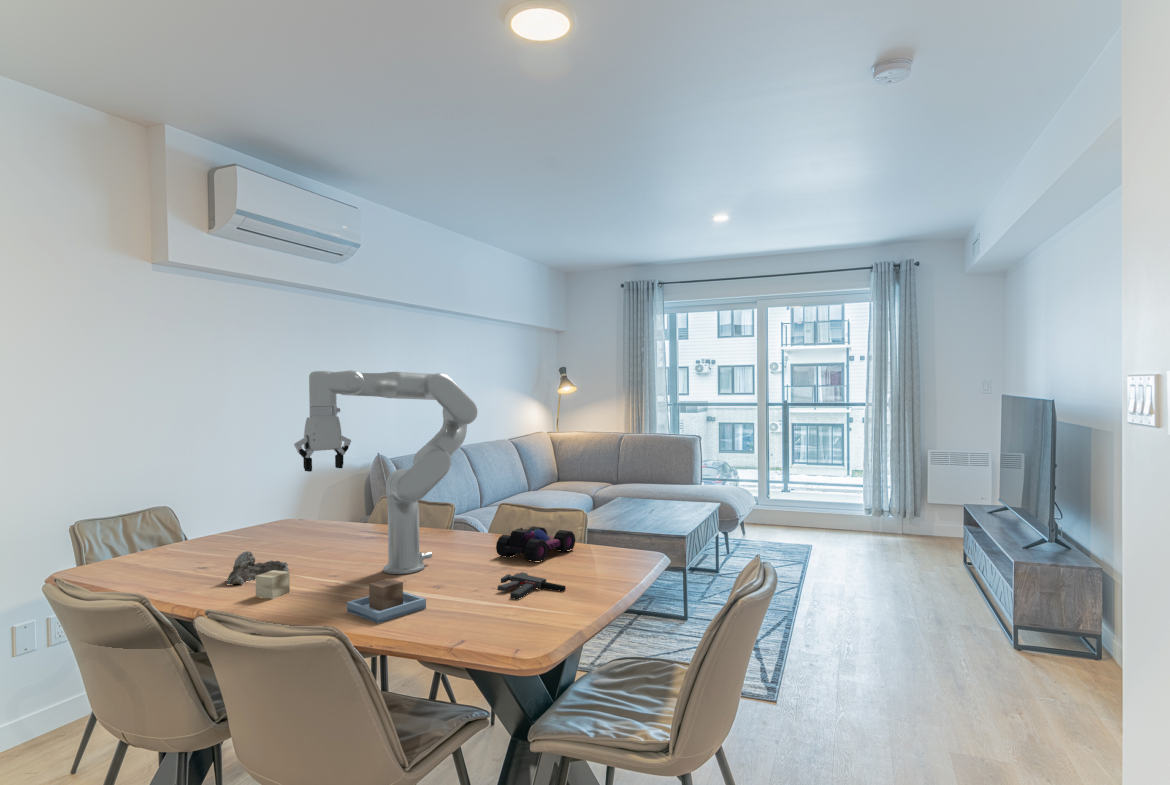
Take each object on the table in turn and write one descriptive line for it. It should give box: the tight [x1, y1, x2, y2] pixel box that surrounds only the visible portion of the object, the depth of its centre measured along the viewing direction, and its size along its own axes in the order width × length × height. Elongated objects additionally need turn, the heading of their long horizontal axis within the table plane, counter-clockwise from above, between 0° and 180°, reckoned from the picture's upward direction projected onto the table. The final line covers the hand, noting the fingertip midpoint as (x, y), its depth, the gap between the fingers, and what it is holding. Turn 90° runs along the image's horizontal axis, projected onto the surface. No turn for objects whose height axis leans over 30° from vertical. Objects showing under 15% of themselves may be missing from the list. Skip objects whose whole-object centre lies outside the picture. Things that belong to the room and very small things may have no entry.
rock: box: [226, 550, 290, 585], centre depth 198 cm, size 18×11×10 cm, turn 135°
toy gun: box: [497, 571, 567, 600], centre depth 179 cm, size 3×19×15 cm
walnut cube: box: [368, 577, 404, 611], centre depth 165 cm, size 6×6×6 cm
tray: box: [346, 591, 427, 624], centre depth 165 cm, size 14×14×2 cm
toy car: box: [495, 526, 576, 562], centre depth 222 cm, size 17×25×10 cm, turn 146°
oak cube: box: [255, 570, 291, 600], centre depth 180 cm, size 6×6×6 cm
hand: (323, 469), depth 193 cm, fingers open, 9 cm apart
